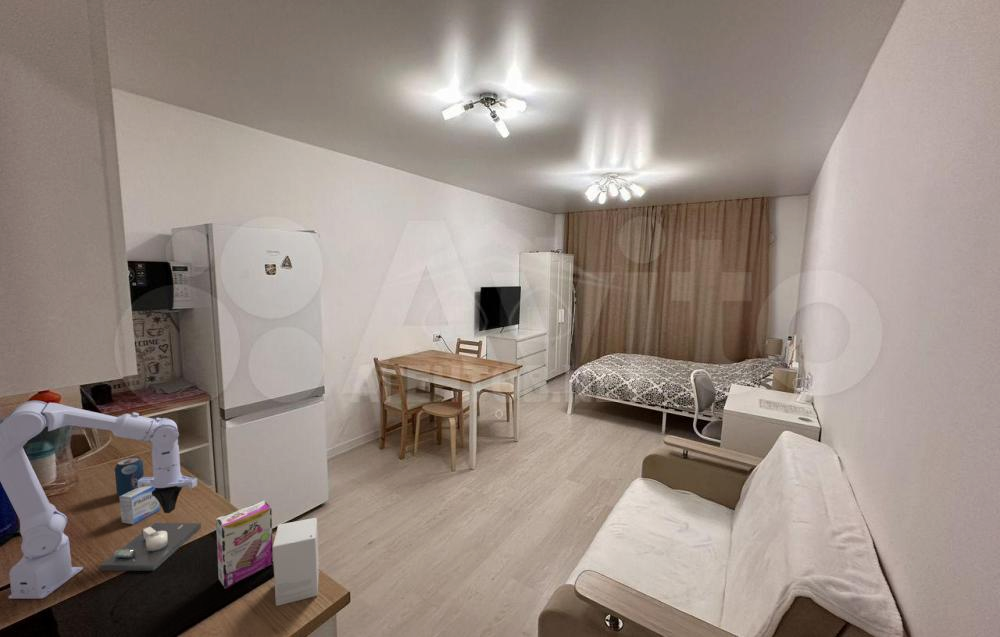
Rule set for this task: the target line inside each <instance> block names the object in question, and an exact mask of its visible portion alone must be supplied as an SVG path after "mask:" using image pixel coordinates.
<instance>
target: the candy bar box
mask: <svg viewBox="0 0 1000 637" xmlns="http://www.w3.org/2000/svg"><path fill="white" fill-rule="evenodd" d="M272 514H273V513H272V506H270V505H269V504H268V503H267V501H266V500H262V501H260V502H257V503H254V504H251V505H250V506H245V507H244V508H240V509H238V510H235V511H233V512H230V513H228V514H224V515H222V516H219V517H217V518H216V519H215V527H216V529H215V530H216V546H217V548H216V552H217V568H218V569H217V575H218V580H219V582H220V583H221V585H222V586H224V587H223V588H224V589H225V590H226V589H228V588H230V587H232V586H234V585H236V584H238V583H240V582H242V581H243V579H244V580H246V579H247V577H248V578H249V576H250V577H251V575H252V576H253V574H254V575H256V574H257V573H259V572H258V571H260V572H262V571H263V570H262V569H264V570H265V568H266V567H268V566H270V565H272V566H274V563H273V549H272V547H273V522H272V521H273V518H272V517H273V516H272ZM270 567H271V566H270ZM268 568H269V567H268ZM266 569H267V568H266ZM261 570H262V571H261ZM256 572H257V573H256ZM255 573H256V574H255ZM245 578H246V579H245ZM241 580H242V581H241ZM239 581H240V582H239Z"/></svg>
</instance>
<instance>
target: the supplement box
mask: <svg viewBox="0 0 1000 637" xmlns="http://www.w3.org/2000/svg"><path fill="white" fill-rule="evenodd" d="M318 538H319V536H318V519H317V517H313V518H308V519H301V520H298V521H292V522H286V523H280V524H278V525H277V529H276V533H275V536H274V540H273V542H272V550H273V575H274V576H273V579H274V593H275V594H274V595H275V597H274V598H275V606H276V607H278V606H282V605H287V604H290V603H294V602H298V601H302V600H307V599H309V598H314V597H317V596H318V594H319V581H320V579H319V578H320V566H319V565H320V564H319V563H320V562H319V561H320V559H319V539H318ZM318 569H319V570H318Z"/></svg>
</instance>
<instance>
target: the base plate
mask: <svg viewBox="0 0 1000 637" xmlns="http://www.w3.org/2000/svg"><path fill="white" fill-rule="evenodd" d="M201 526H202V525H201V523H199V522H198V523H197V522H195V523H194V522H188V523H187V522H183V523H182V522H181V523H180V522H177V523H176V522H169V523H168V522H155V523H153V524H152V525H150V527H151V528H153V529H154V530H155V531H156V532H158V531H166V532H167V538H168V544H167V545H166V546H165V547H163V548H161V549H159V550H156V551H147V549H146V539H144V538H143V537H142V532H141V533H140V534H138V535H137V536H136V537H135V538H133V539H132V540H131V541H130V542H128V543H127V544H125V546H123V547H121V548H120V549H117V550H115V551H114V553H113V555H111V556H110V557H109V558H108V559H106V560H105V561H104V562H102V563H101V564H99V566H100V568H99V569H100V571H104V572H105V571H107V572H108V571H113V572H114V571H115V572H117V571H122V572H125V571H128V572H129V571H131V572H132V571H140V572H141V571H142V572H143V571H146V572H147V571H155V570H156V569H157V568H159V566H160V565H162V564H163V563H165V561H166V560H167V559H169V557H171V556H172V555H173V554H174V553H175V552H176V551H178V549H179V548H181V547H182V545H184V544H185V543H186V542H187V541H188V540H190V538H192V537H193V536H194V535H196V533H197V532H198V531H199V530H200V529H201V528H202V527H201Z"/></svg>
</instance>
